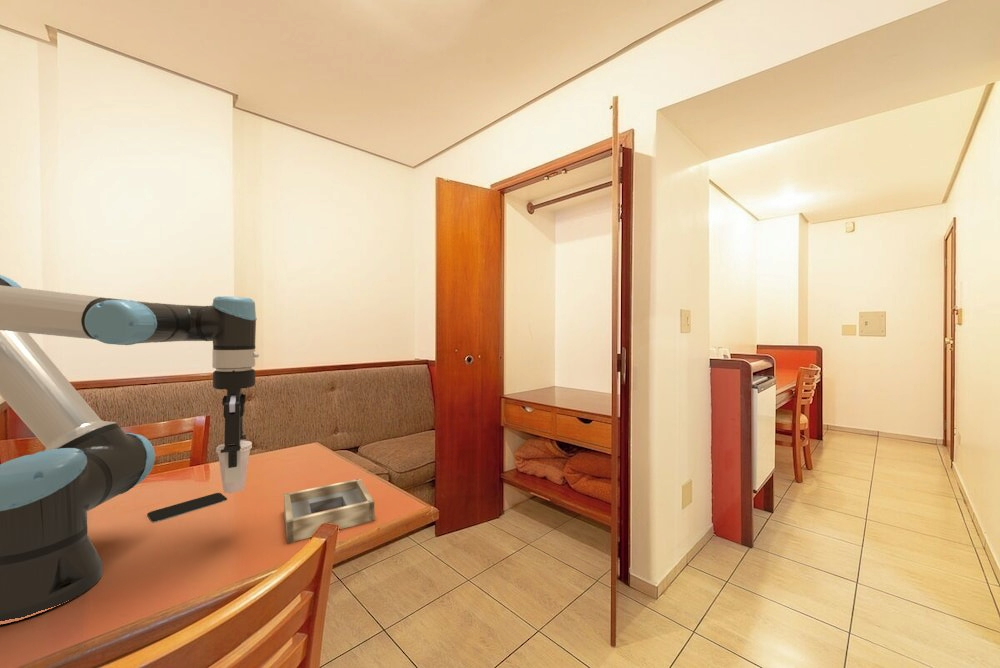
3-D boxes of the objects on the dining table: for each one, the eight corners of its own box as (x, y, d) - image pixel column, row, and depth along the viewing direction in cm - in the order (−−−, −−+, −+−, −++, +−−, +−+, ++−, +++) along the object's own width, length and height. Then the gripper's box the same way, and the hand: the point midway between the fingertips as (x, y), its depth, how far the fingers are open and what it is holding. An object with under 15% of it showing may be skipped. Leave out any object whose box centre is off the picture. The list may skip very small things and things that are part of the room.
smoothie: (258, 484, 85) (259, 421, 85) (236, 496, 79) (236, 429, 78) (232, 482, 86) (232, 420, 85) (207, 494, 79) (208, 428, 79)
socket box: (287, 543, 80) (286, 522, 80) (284, 512, 94) (283, 494, 94) (374, 520, 90) (374, 501, 90) (360, 494, 103) (360, 478, 103)
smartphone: (228, 499, 100) (152, 522, 89) (228, 501, 101) (152, 524, 89) (219, 491, 105) (146, 512, 93) (219, 494, 105) (146, 515, 93)
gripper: (254, 373, 75) (253, 488, 76) (256, 364, 92) (255, 459, 92) (206, 375, 71) (206, 496, 72) (218, 365, 88) (217, 464, 88)
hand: (234, 475), depth 82 cm, fingers closed on smoothie, 6 cm apart
